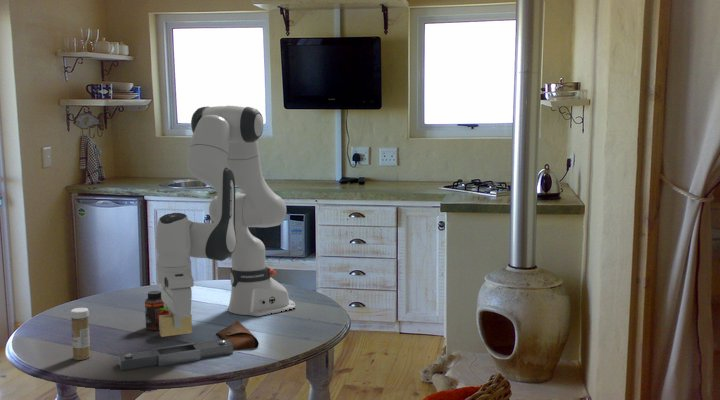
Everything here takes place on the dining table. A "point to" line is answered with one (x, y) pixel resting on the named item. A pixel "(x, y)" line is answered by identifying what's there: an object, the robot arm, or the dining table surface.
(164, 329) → the khaki rectangular block
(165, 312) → the strawberry
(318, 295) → the dining table surface
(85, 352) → the sprinkles bottle
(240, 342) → the sunglasses case
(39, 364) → the dining table surface
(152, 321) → the supplement bottle
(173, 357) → the grey slotted link bar
